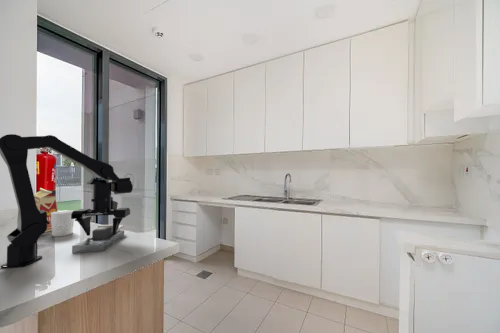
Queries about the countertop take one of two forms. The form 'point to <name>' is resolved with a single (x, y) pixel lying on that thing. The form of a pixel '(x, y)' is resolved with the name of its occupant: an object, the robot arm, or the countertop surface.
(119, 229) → the panel
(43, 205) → the milk carton
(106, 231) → the plug
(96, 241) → the socket plate
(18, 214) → the robot arm
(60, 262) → the countertop surface
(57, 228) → the white cup
